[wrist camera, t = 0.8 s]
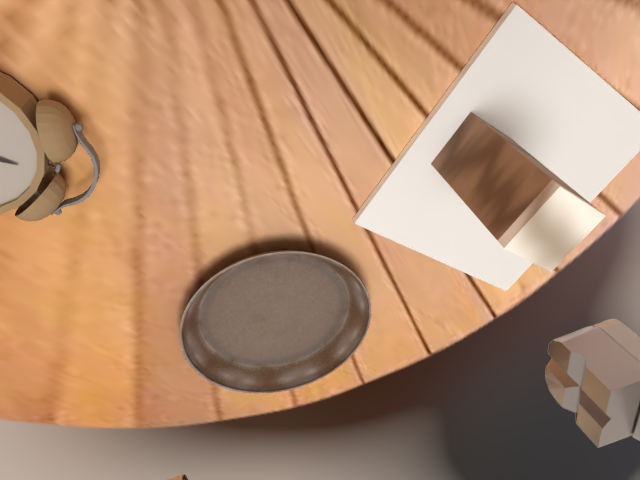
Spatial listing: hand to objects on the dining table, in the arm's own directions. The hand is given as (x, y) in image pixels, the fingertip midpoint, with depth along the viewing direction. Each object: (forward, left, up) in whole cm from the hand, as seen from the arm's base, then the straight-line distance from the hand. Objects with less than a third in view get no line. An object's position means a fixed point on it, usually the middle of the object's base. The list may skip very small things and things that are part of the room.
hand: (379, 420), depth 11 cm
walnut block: (-1, +26, -36) cm, 44 cm away
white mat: (-1, +32, -37) cm, 49 cm away
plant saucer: (+25, +19, -37) cm, 49 cm away
